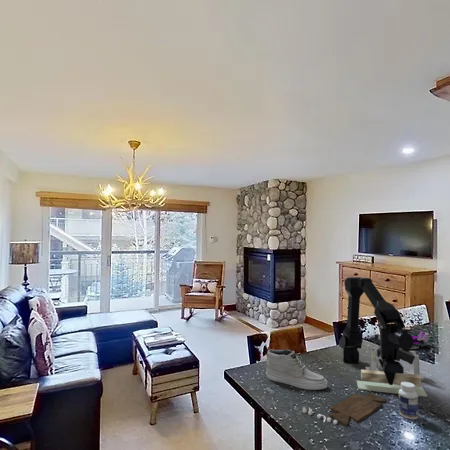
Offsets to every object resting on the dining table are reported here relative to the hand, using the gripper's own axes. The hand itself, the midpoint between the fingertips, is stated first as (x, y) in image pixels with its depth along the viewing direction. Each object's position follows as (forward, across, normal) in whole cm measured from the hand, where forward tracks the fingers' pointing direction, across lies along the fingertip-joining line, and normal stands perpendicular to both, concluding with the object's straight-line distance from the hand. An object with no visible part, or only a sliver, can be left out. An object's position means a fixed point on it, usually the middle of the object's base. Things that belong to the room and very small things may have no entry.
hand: (389, 383), depth 123 cm
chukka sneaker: (+3, -3, +35) cm, 35 cm away
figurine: (+3, +56, -16) cm, 58 cm away
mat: (+2, 0, 0) cm, 2 cm away
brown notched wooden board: (+3, -18, +13) cm, 23 cm away
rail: (0, 0, 0) cm, 1 cm away
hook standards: (+2, +15, -4) cm, 16 cm away
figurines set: (+3, -28, +26) cm, 38 cm away
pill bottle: (+2, -19, -2) cm, 19 cm away
